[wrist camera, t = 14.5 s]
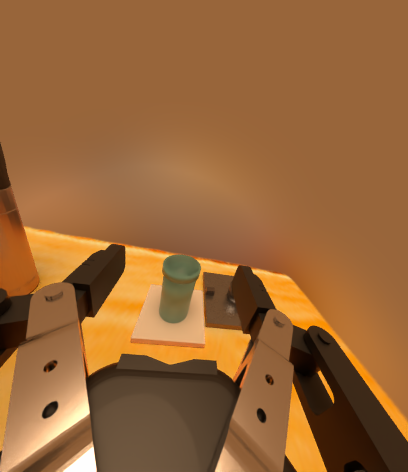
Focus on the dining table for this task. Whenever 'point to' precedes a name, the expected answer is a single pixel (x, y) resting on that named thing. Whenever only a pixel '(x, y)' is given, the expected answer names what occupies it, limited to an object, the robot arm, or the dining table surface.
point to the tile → (164, 333)
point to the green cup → (177, 287)
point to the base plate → (220, 302)
